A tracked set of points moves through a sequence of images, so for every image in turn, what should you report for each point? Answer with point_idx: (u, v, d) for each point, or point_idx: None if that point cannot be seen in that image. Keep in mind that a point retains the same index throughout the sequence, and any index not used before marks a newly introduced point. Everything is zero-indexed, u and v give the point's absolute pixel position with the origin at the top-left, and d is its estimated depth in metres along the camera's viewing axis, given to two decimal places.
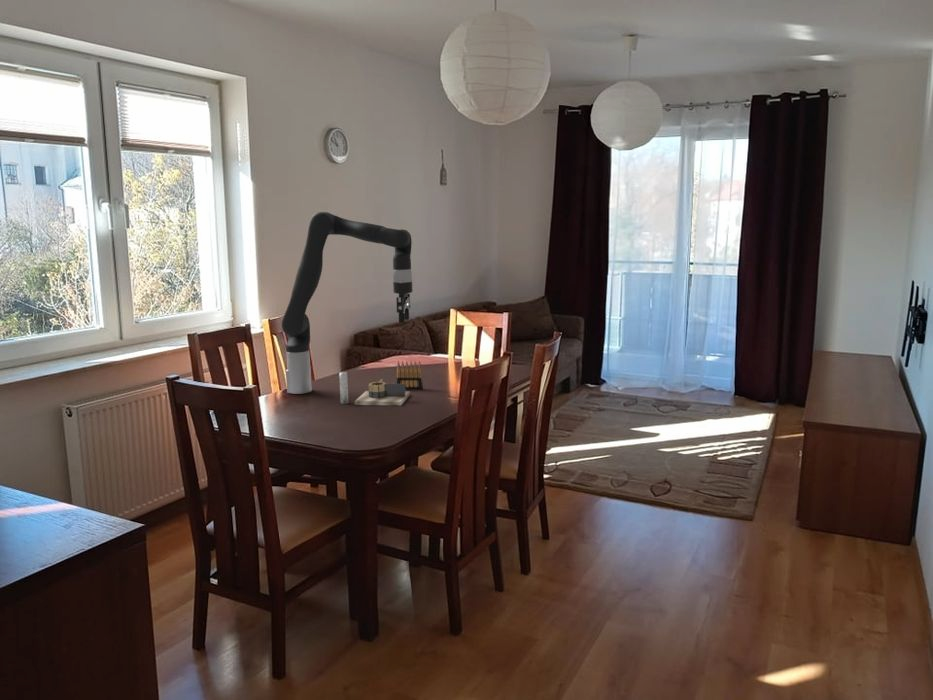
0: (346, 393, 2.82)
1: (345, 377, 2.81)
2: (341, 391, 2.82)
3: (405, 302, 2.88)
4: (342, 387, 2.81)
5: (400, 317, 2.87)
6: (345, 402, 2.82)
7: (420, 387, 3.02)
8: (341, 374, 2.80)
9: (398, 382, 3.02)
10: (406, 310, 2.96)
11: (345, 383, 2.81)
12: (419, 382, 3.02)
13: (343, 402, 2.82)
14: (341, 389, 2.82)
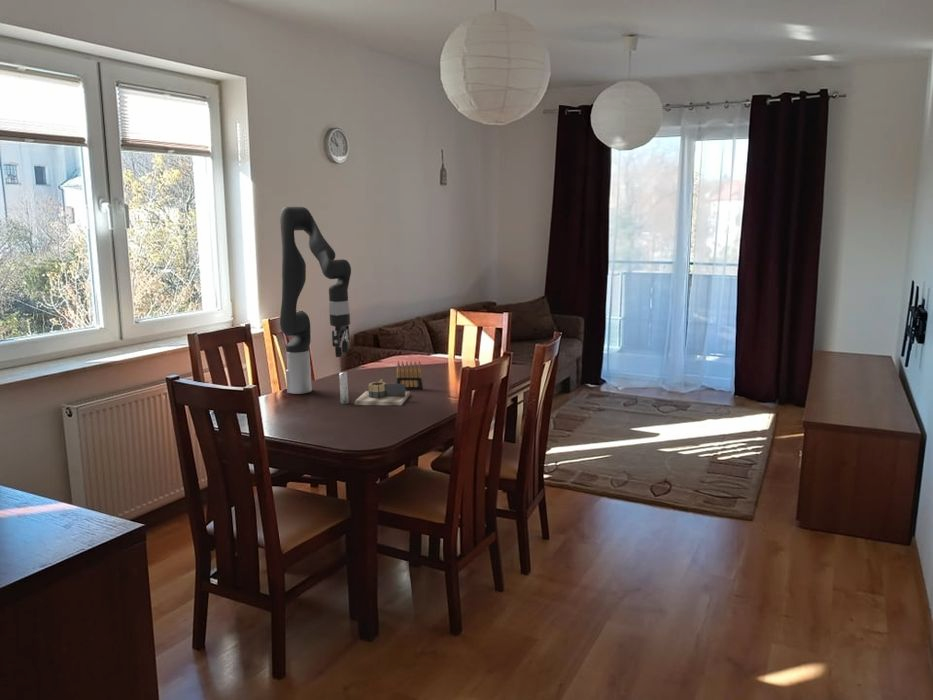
0: (346, 393, 2.82)
1: (345, 377, 2.81)
2: (341, 391, 2.82)
3: (342, 335, 2.76)
4: (342, 387, 2.81)
5: (337, 351, 2.75)
6: (345, 402, 2.82)
7: (420, 387, 3.02)
8: (341, 374, 2.80)
9: (398, 382, 3.02)
10: (345, 343, 2.84)
11: (345, 383, 2.81)
12: (419, 382, 3.02)
13: (343, 402, 2.82)
14: (341, 389, 2.82)
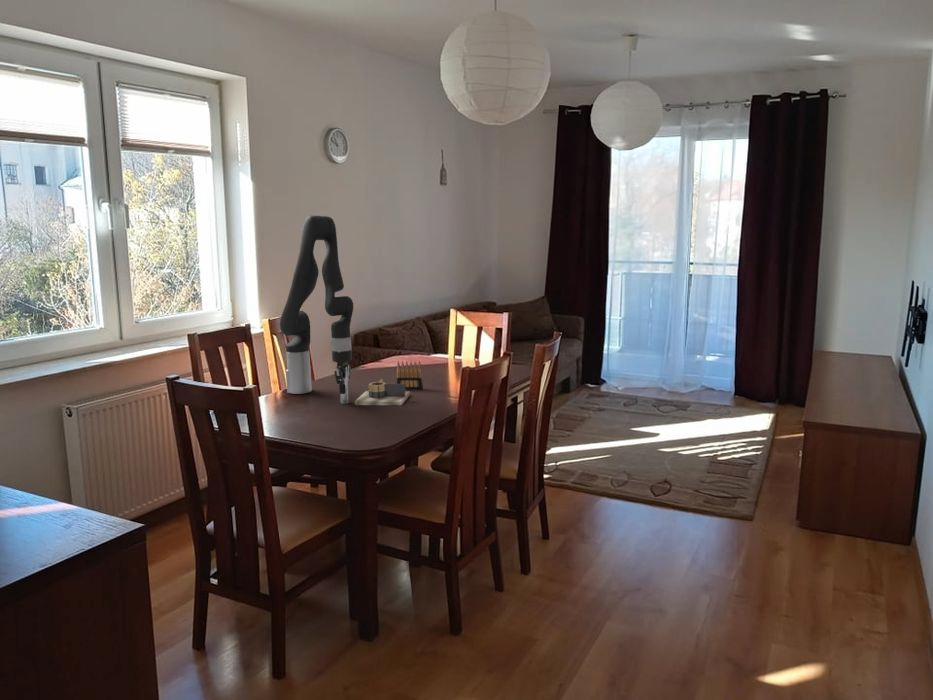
0: (346, 393, 2.82)
1: None
2: None
3: (344, 372, 2.79)
4: None
5: (341, 388, 2.80)
6: (345, 402, 2.82)
7: (420, 387, 3.02)
8: None
9: (398, 382, 3.02)
10: None
11: (345, 383, 2.81)
12: (419, 382, 3.02)
13: (343, 402, 2.82)
14: None
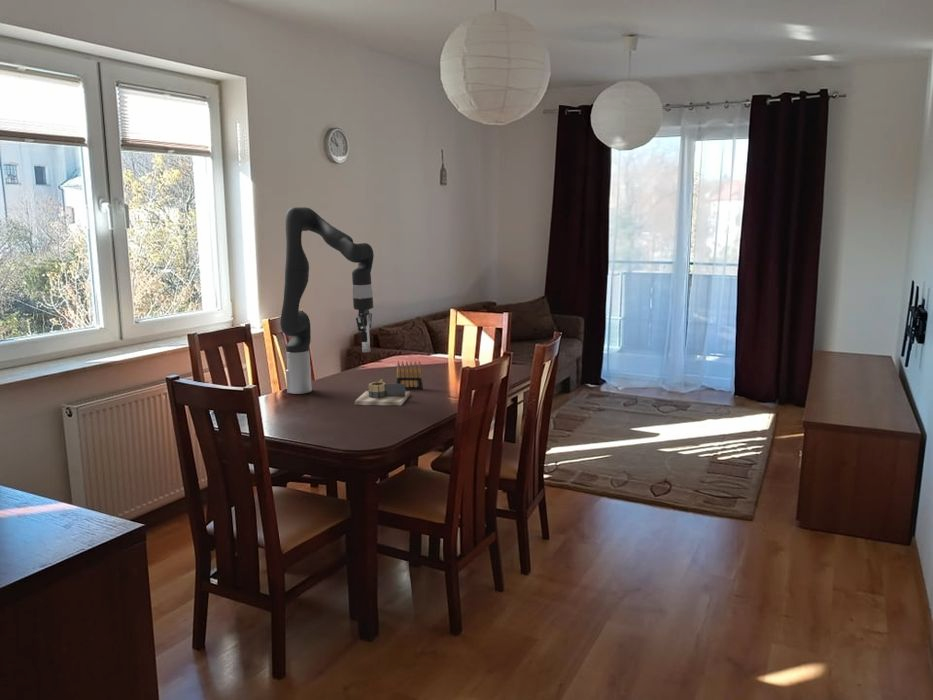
0: (368, 341, 2.80)
1: None
2: None
3: (366, 320, 2.77)
4: None
5: (362, 336, 2.78)
6: (367, 350, 2.81)
7: (420, 387, 3.02)
8: None
9: (398, 382, 3.02)
10: None
11: (367, 331, 2.80)
12: (419, 382, 3.02)
13: (365, 350, 2.81)
14: None
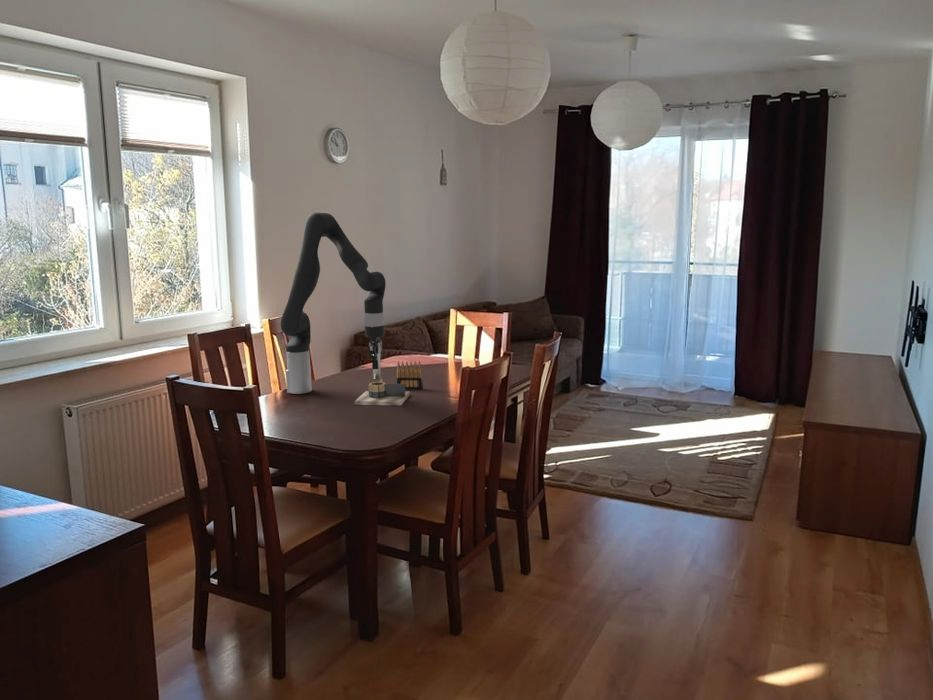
0: (379, 368, 2.84)
1: None
2: None
3: (377, 348, 2.81)
4: None
5: (373, 363, 2.82)
6: (378, 377, 2.84)
7: (420, 387, 3.02)
8: None
9: (398, 382, 3.02)
10: None
11: (378, 358, 2.83)
12: (419, 382, 3.02)
13: (376, 377, 2.84)
14: None
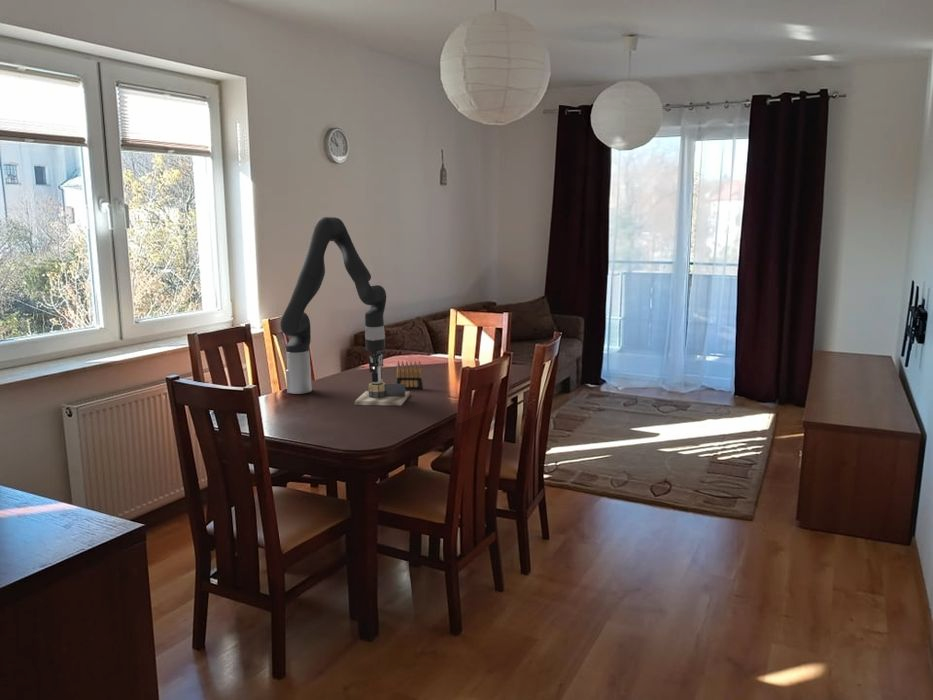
0: None
1: (379, 370, 2.84)
2: (375, 384, 2.85)
3: (378, 360, 2.82)
4: None
5: (373, 376, 2.81)
6: None
7: (420, 387, 3.02)
8: None
9: (398, 382, 3.02)
10: None
11: (379, 376, 2.84)
12: (419, 382, 3.02)
13: None
14: (375, 382, 2.85)
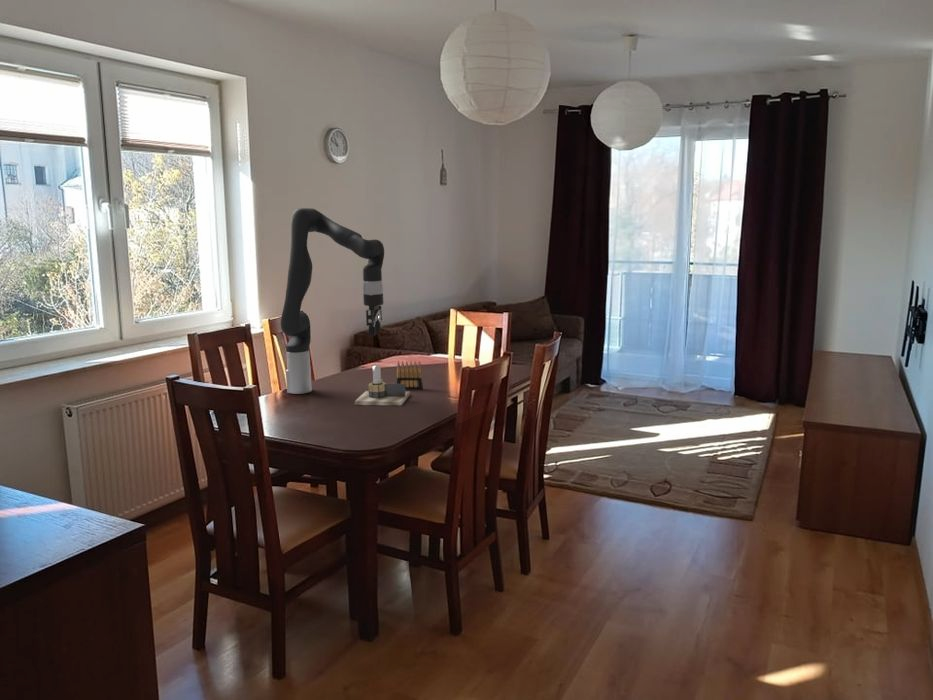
0: None
1: (378, 371, 2.84)
2: (374, 384, 2.85)
3: (375, 315, 2.78)
4: (376, 380, 2.84)
5: (370, 330, 2.77)
6: None
7: (420, 387, 3.02)
8: (375, 368, 2.83)
9: (398, 382, 3.02)
10: (377, 323, 2.86)
11: (378, 377, 2.84)
12: (419, 382, 3.02)
13: None
14: (374, 382, 2.85)
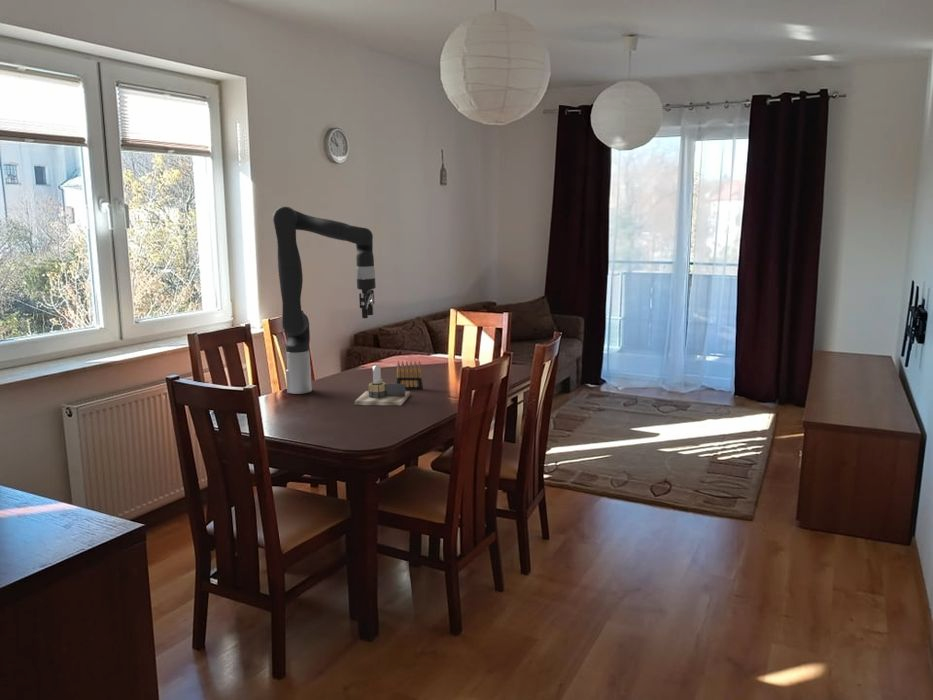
0: None
1: (379, 371, 2.84)
2: (374, 384, 2.85)
3: (368, 298, 2.98)
4: (376, 380, 2.84)
5: (363, 312, 2.97)
6: None
7: (420, 387, 3.02)
8: (375, 368, 2.83)
9: (398, 382, 3.02)
10: (370, 306, 3.05)
11: (378, 377, 2.84)
12: (419, 382, 3.02)
13: None
14: (374, 382, 2.85)
